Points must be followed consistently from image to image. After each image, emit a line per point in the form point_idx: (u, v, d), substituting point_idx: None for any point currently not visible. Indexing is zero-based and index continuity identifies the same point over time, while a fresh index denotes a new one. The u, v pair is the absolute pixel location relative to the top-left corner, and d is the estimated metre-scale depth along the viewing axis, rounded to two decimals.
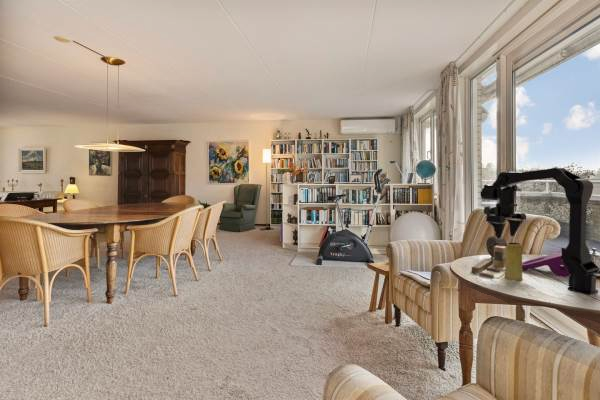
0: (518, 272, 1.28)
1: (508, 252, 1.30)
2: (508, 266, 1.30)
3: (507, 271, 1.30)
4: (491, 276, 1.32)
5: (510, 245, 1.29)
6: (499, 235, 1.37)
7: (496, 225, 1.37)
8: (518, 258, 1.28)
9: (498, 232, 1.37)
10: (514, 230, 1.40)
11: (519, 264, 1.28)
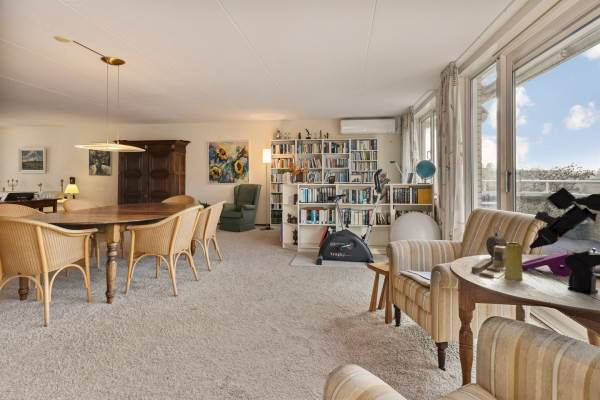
0: (518, 272, 1.28)
1: (508, 252, 1.30)
2: (508, 266, 1.30)
3: (507, 271, 1.30)
4: (491, 276, 1.32)
5: (510, 245, 1.29)
6: (534, 247, 1.21)
7: (541, 238, 1.19)
8: (518, 258, 1.28)
9: (536, 244, 1.20)
10: None
11: (519, 264, 1.28)
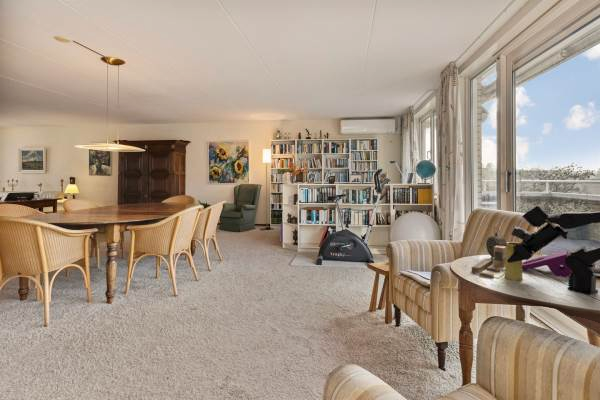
0: (518, 272, 1.28)
1: (508, 252, 1.30)
2: (508, 266, 1.30)
3: (507, 271, 1.30)
4: (491, 276, 1.32)
5: (510, 245, 1.29)
6: (511, 261, 1.28)
7: (518, 253, 1.26)
8: None
9: (513, 259, 1.27)
10: None
11: (519, 264, 1.28)
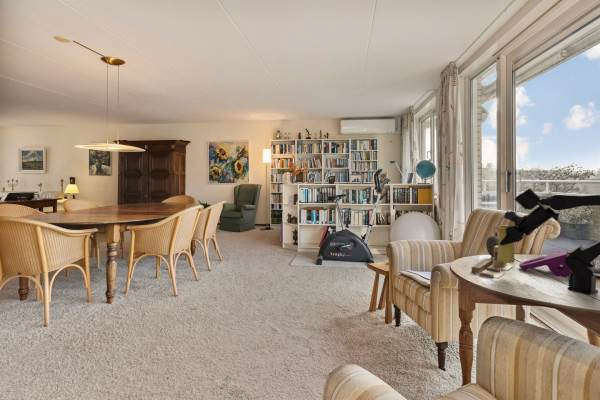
0: (510, 255, 1.29)
1: (501, 235, 1.31)
2: (500, 249, 1.31)
3: (499, 254, 1.32)
4: (491, 276, 1.32)
5: (503, 228, 1.30)
6: (503, 244, 1.29)
7: (510, 235, 1.27)
8: None
9: (505, 241, 1.29)
10: None
11: (511, 247, 1.29)
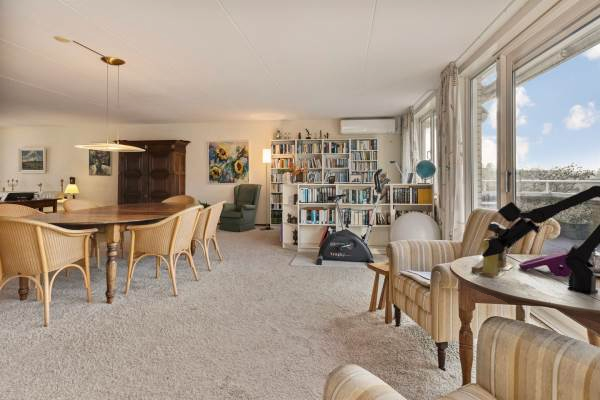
0: (494, 267, 1.34)
1: (485, 248, 1.36)
2: (485, 262, 1.36)
3: (484, 267, 1.36)
4: (491, 276, 1.32)
5: (487, 242, 1.35)
6: (486, 255, 1.33)
7: (492, 247, 1.30)
8: None
9: (488, 253, 1.32)
10: None
11: (495, 260, 1.34)
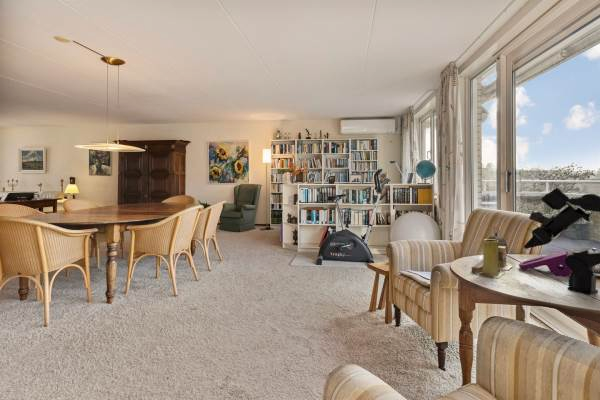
0: (494, 267, 1.34)
1: (485, 248, 1.36)
2: (485, 262, 1.36)
3: (484, 267, 1.36)
4: (491, 276, 1.32)
5: (487, 242, 1.35)
6: (528, 247, 1.22)
7: (535, 238, 1.20)
8: (494, 254, 1.34)
9: (531, 244, 1.21)
10: None
11: (495, 260, 1.34)
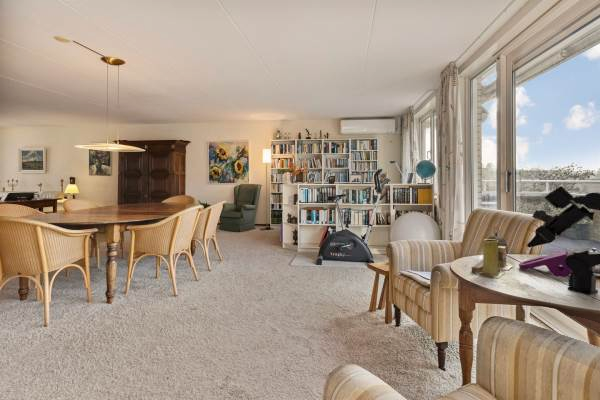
0: (494, 267, 1.34)
1: (485, 248, 1.36)
2: (485, 262, 1.36)
3: (484, 267, 1.36)
4: (491, 276, 1.32)
5: (487, 242, 1.35)
6: (532, 245, 1.21)
7: (539, 237, 1.19)
8: (494, 254, 1.34)
9: (534, 243, 1.20)
10: None
11: (495, 260, 1.34)
